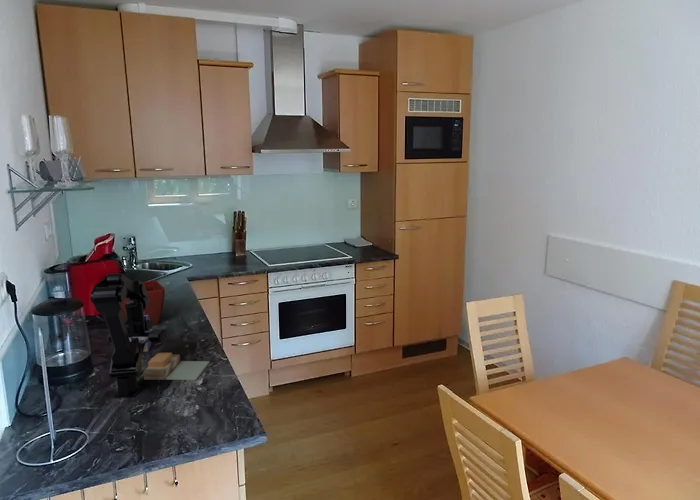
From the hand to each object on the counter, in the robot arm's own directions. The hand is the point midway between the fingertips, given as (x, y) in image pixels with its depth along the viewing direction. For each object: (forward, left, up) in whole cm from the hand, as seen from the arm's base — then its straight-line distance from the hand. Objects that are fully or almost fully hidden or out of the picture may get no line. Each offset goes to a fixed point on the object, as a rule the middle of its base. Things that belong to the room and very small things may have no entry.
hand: (139, 358), depth 173 cm
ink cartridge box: (+20, +9, -5) cm, 22 cm away
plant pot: (+48, +23, -5) cm, 53 cm away
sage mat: (0, -17, -5) cm, 18 cm away
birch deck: (0, -8, -5) cm, 9 cm away
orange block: (0, -7, -2) cm, 8 cm away
